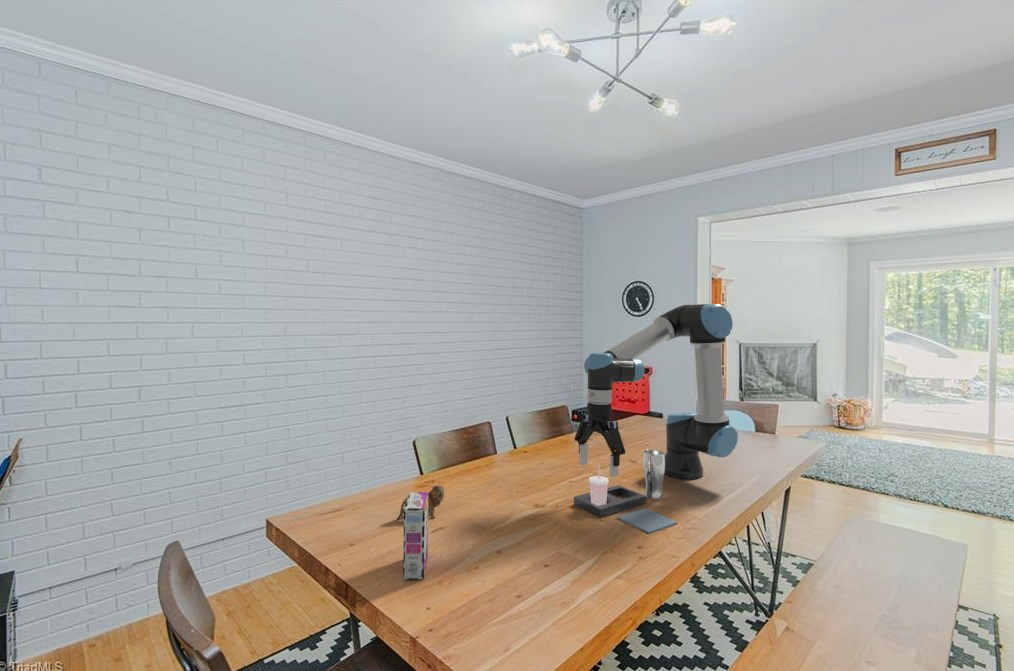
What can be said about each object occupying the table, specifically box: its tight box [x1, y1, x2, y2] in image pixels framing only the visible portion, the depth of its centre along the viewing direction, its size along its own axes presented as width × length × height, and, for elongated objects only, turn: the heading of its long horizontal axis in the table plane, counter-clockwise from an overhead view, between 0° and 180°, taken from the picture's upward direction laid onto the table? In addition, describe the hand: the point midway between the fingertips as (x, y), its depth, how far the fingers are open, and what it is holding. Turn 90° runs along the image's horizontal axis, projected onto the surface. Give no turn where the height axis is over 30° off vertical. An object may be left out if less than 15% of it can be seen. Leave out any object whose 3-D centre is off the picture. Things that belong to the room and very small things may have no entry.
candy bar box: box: [402, 491, 429, 581], centre depth 112 cm, size 11×5×16 cm, turn 5°
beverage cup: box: [588, 462, 610, 506], centre depth 149 cm, size 6×6×14 cm
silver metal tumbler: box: [642, 449, 666, 501], centre depth 158 cm, size 7×7×15 cm
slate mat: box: [616, 507, 678, 535], centre depth 139 cm, size 12×12×1 cm
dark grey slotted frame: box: [573, 484, 647, 518], centre depth 152 cm, size 20×12×2 cm, turn 122°
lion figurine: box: [395, 484, 445, 521], centre depth 141 cm, size 15×5×9 cm, turn 116°
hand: (598, 470), depth 149 cm, fingers open, 13 cm apart
